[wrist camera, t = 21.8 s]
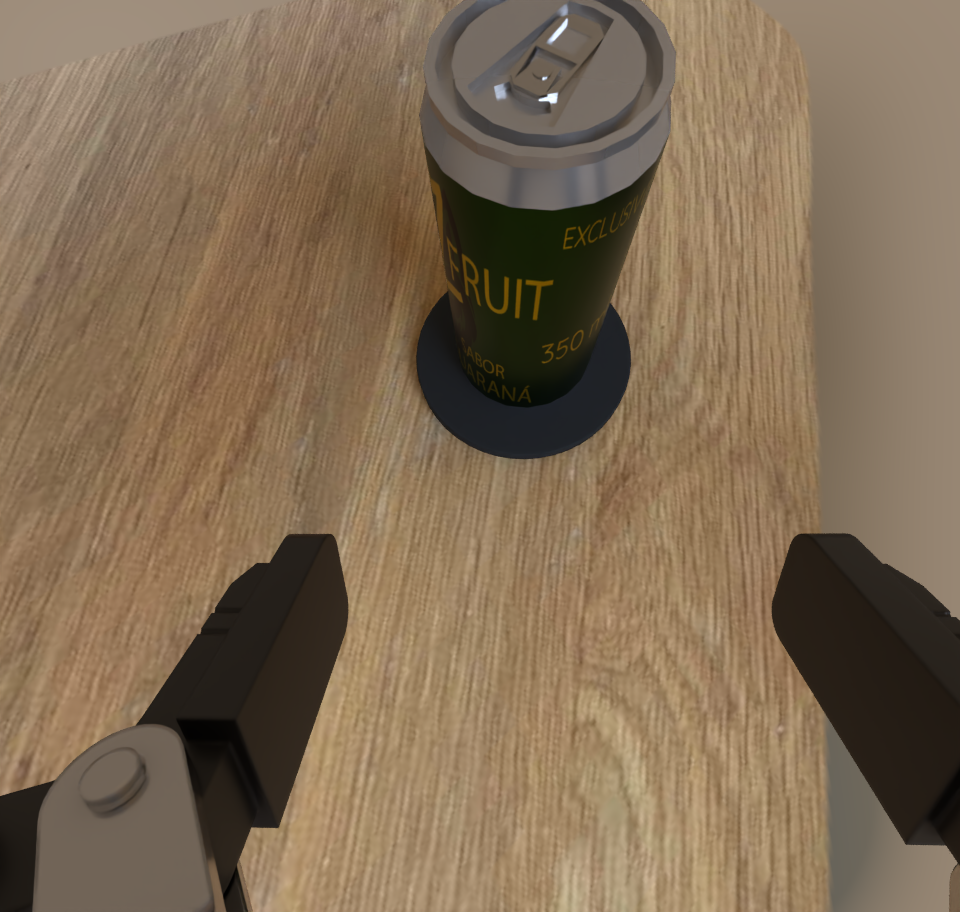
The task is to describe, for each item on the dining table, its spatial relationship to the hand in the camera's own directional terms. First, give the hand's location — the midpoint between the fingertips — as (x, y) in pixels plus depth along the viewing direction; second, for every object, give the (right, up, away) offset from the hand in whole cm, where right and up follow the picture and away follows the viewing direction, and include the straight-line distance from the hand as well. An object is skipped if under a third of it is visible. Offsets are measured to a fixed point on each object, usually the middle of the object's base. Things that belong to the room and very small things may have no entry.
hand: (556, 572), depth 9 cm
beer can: (0, +6, +12) cm, 14 cm away
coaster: (0, +6, +13) cm, 14 cm away
